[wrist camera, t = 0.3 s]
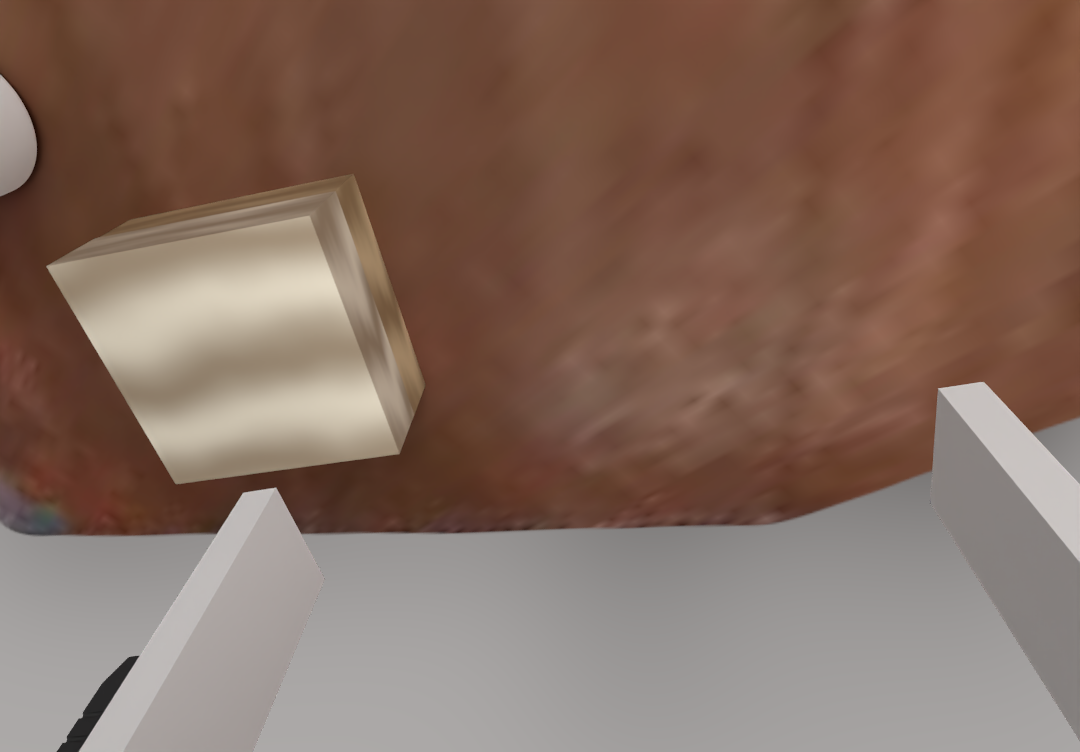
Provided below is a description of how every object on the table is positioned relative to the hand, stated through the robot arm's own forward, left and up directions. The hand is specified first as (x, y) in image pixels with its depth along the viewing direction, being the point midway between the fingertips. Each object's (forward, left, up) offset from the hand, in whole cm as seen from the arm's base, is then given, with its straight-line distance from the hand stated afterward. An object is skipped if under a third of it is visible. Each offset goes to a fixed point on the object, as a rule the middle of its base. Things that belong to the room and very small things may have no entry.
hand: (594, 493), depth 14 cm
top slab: (+5, -20, -24) cm, 32 cm away
